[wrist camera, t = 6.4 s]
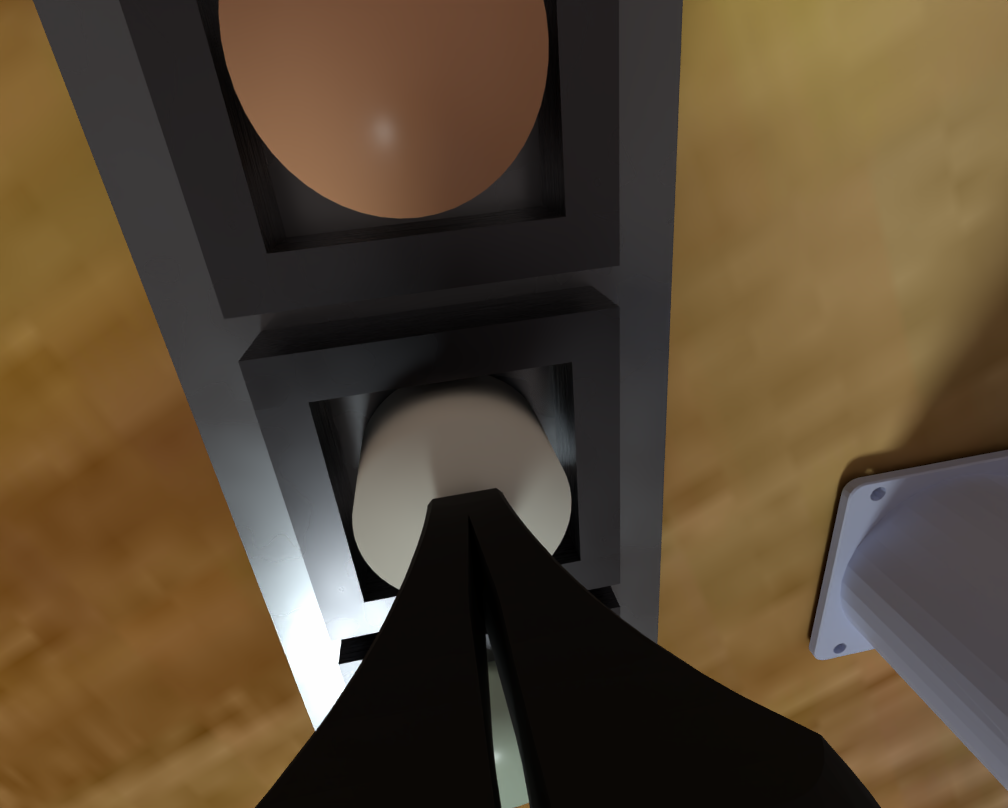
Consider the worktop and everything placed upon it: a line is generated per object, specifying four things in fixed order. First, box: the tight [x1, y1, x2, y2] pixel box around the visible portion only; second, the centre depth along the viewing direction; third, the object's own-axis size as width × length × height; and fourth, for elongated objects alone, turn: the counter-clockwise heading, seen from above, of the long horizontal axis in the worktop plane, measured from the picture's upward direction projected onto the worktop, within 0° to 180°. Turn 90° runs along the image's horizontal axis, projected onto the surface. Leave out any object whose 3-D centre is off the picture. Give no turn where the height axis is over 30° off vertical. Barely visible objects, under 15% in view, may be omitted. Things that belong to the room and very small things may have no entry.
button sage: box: [488, 661, 529, 808], centre depth 16 cm, size 4×4×2 cm
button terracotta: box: [219, 0, 549, 219], centre depth 9 cm, size 4×4×2 cm
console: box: [33, 0, 683, 731], centre depth 13 cm, size 11×27×3 cm, turn 5°
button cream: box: [352, 375, 571, 589], centre depth 12 cm, size 4×4×2 cm
